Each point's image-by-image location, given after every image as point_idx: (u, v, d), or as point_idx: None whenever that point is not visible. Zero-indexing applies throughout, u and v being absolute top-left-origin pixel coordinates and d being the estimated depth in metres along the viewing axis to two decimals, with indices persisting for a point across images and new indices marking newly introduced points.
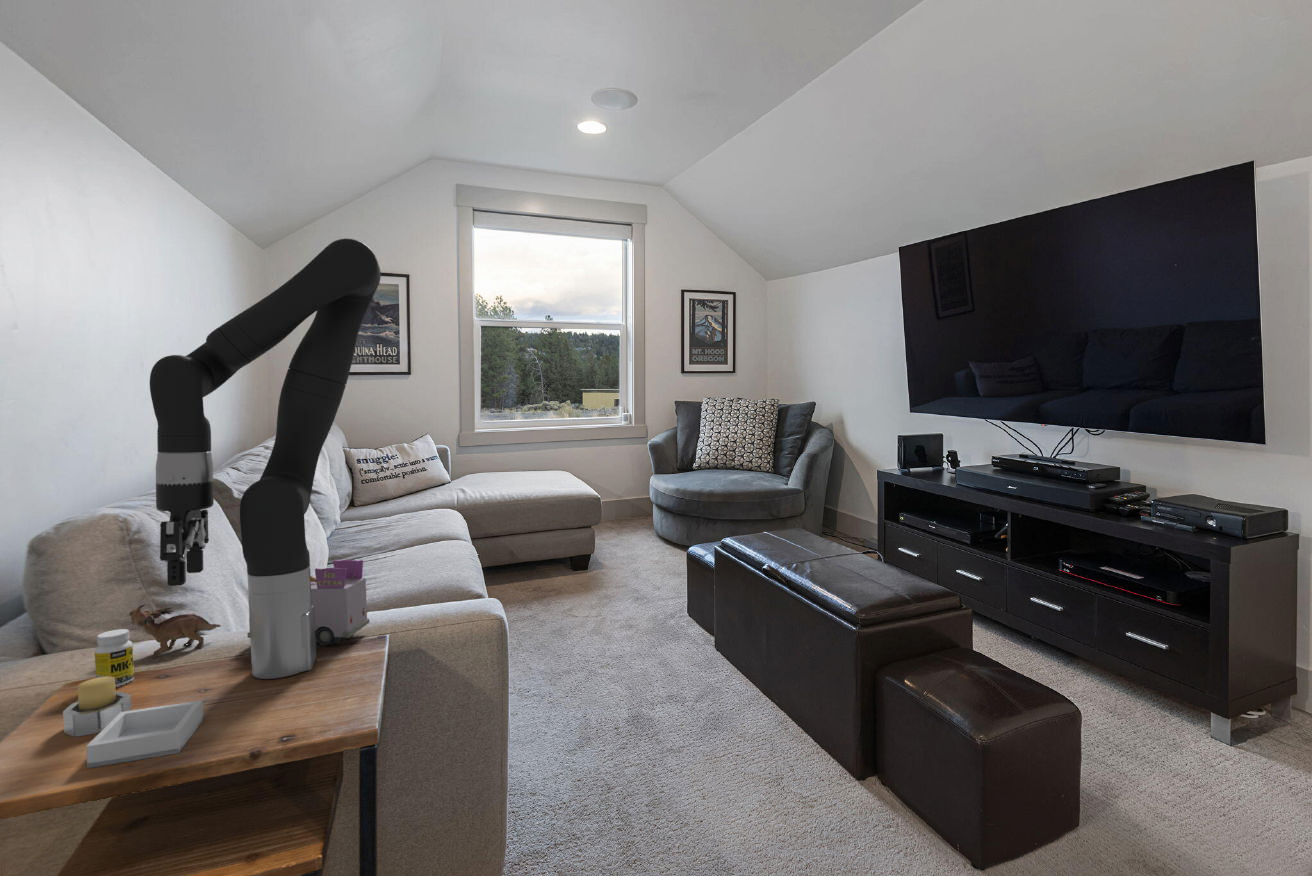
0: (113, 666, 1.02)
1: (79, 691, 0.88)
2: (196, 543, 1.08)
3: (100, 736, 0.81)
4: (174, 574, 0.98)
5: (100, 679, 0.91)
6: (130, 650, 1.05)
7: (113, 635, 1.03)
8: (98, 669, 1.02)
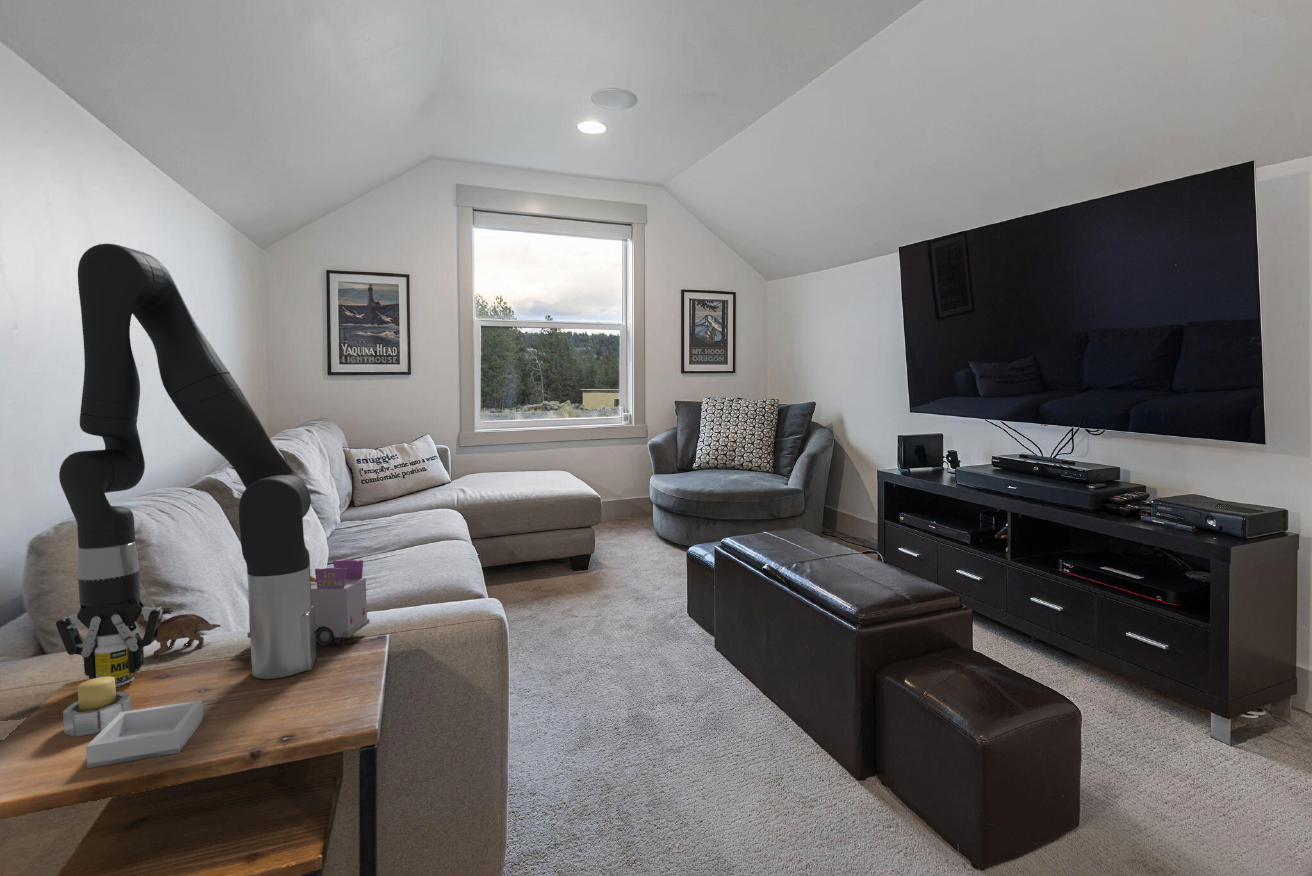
0: (113, 666, 1.02)
1: (79, 691, 0.88)
2: None
3: (100, 736, 0.81)
4: (142, 659, 1.05)
5: (100, 679, 0.91)
6: (130, 650, 1.05)
7: (113, 635, 1.03)
8: (98, 669, 1.02)
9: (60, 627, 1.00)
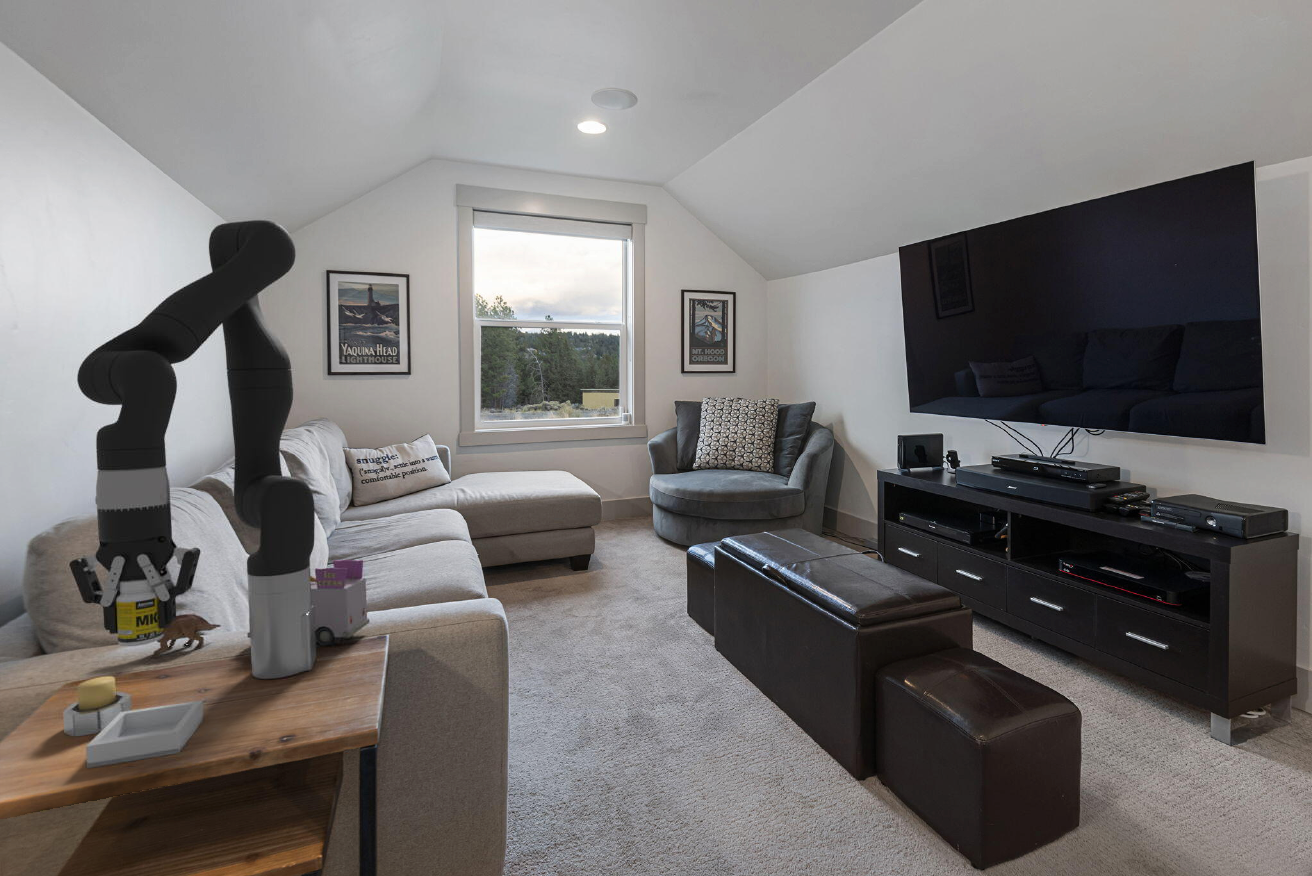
0: (139, 618, 0.82)
1: (79, 691, 0.88)
2: None
3: (100, 736, 0.81)
4: (174, 611, 0.86)
5: (100, 679, 0.91)
6: (159, 600, 0.85)
7: (139, 580, 0.83)
8: (120, 622, 0.82)
9: (75, 569, 0.81)
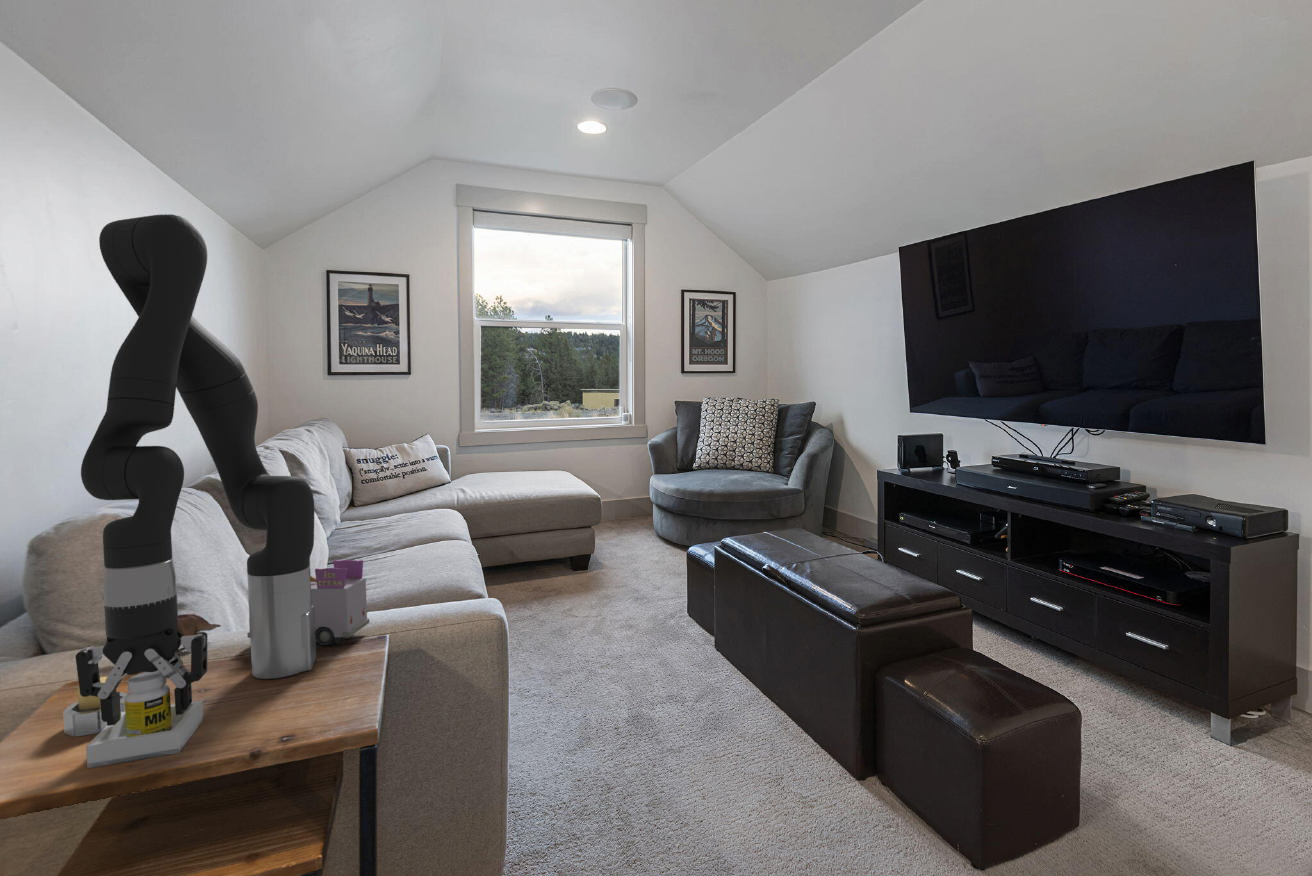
0: (147, 718, 0.83)
1: (79, 691, 0.88)
2: None
3: (100, 736, 0.81)
4: (190, 697, 0.87)
5: (100, 679, 0.91)
6: (167, 697, 0.85)
7: (147, 679, 0.84)
8: (129, 722, 0.83)
9: (80, 660, 0.81)
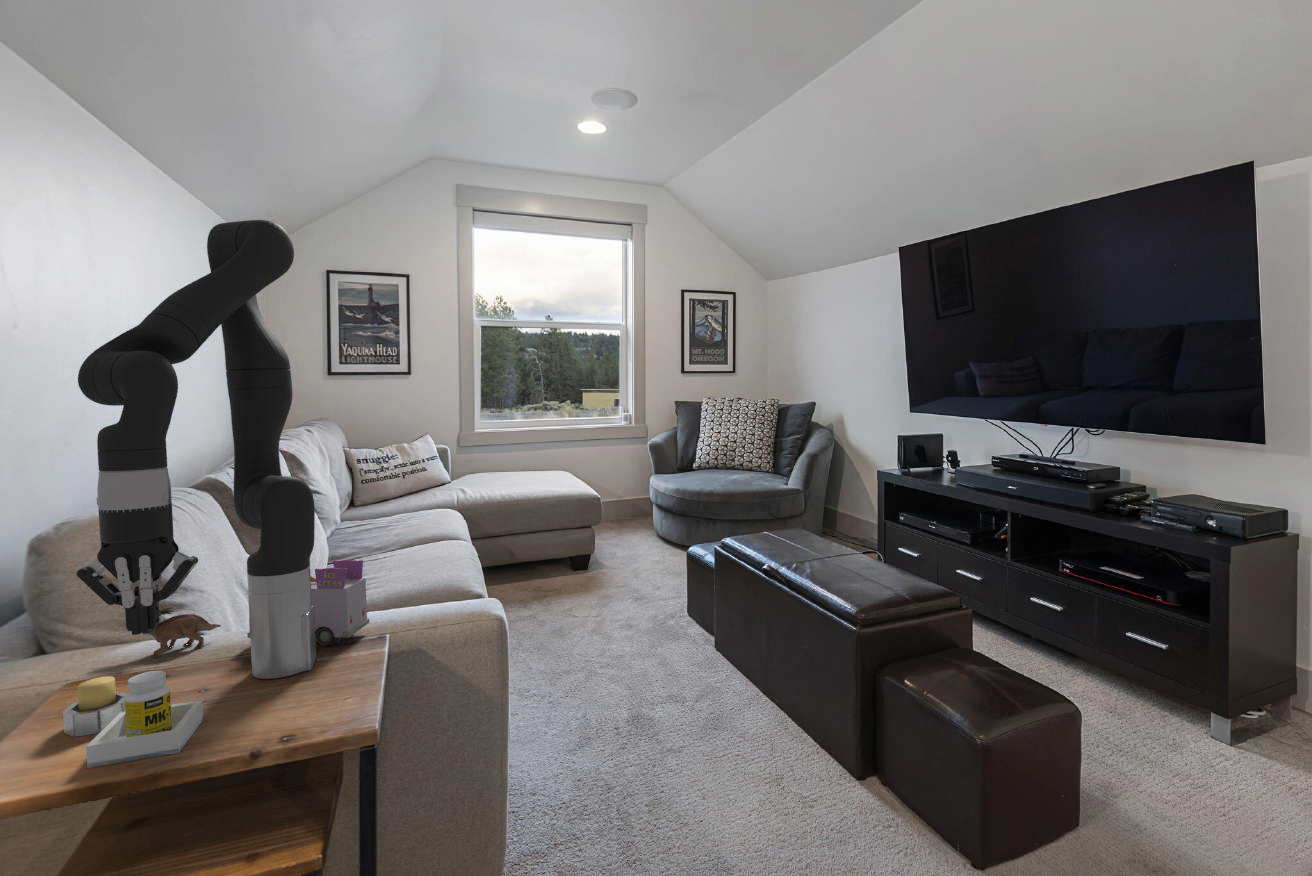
0: (147, 718, 0.83)
1: (79, 691, 0.88)
2: (135, 596, 0.84)
3: (100, 736, 0.81)
4: (157, 616, 0.85)
5: (100, 679, 0.91)
6: (167, 697, 0.85)
7: (147, 679, 0.84)
8: (129, 722, 0.83)
9: (84, 577, 0.81)
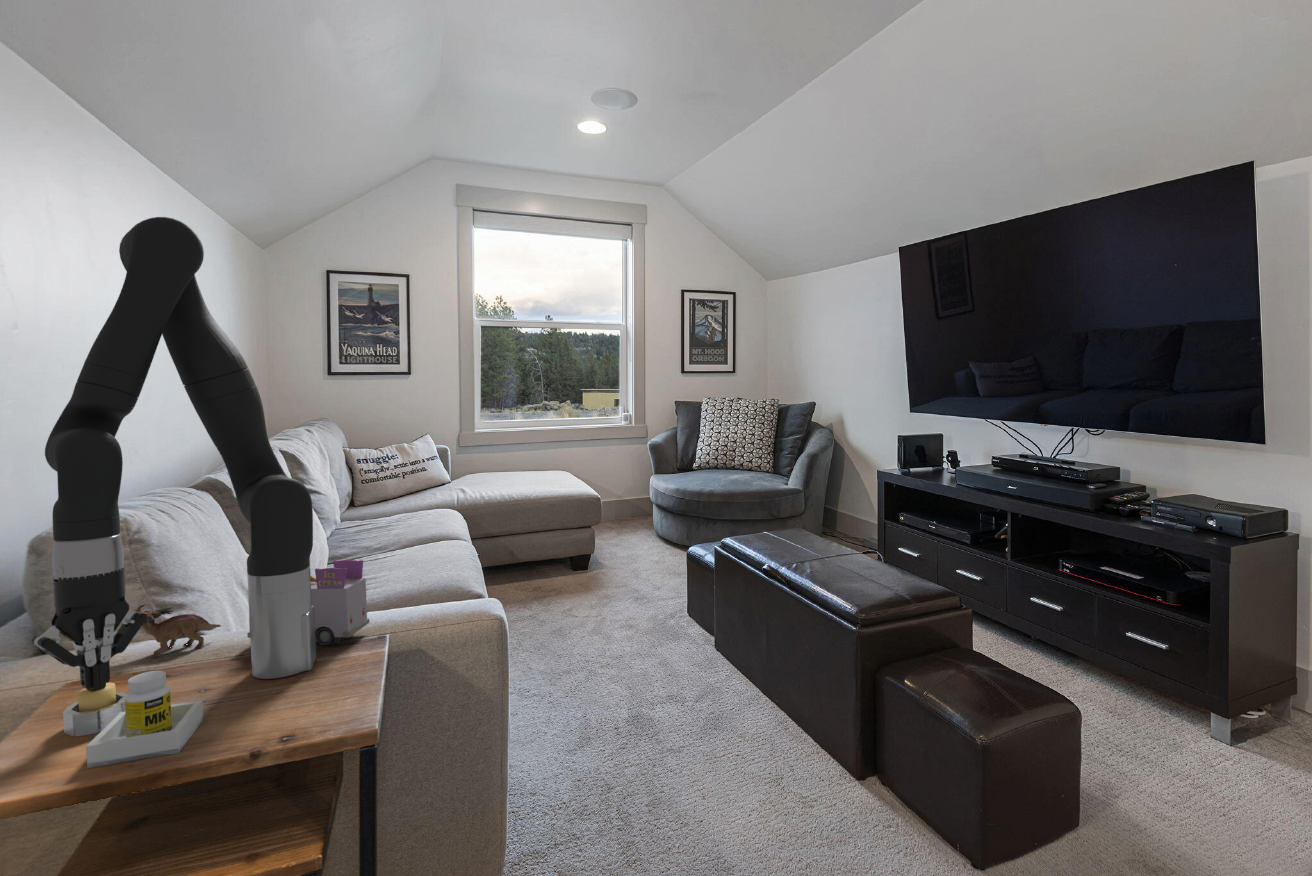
0: (147, 718, 0.83)
1: (79, 697, 0.89)
2: None
3: (100, 736, 0.81)
4: None
5: None
6: (167, 697, 0.85)
7: (147, 679, 0.84)
8: (129, 722, 0.83)
9: (48, 646, 0.85)
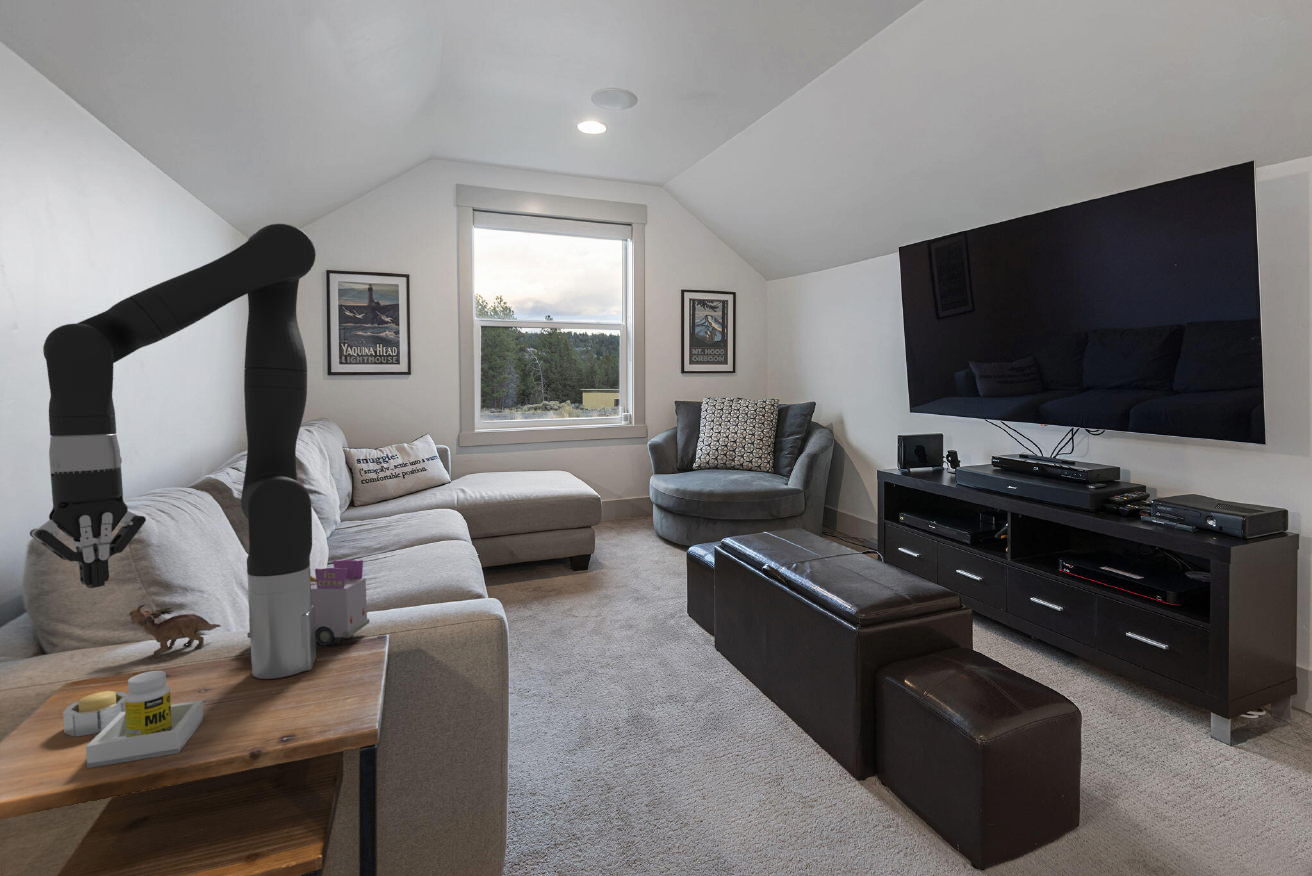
0: (147, 718, 0.83)
1: (80, 706, 0.89)
2: None
3: (100, 736, 0.81)
4: None
5: (101, 694, 0.91)
6: (167, 697, 0.85)
7: (147, 679, 0.84)
8: (129, 722, 0.83)
9: (45, 538, 0.85)
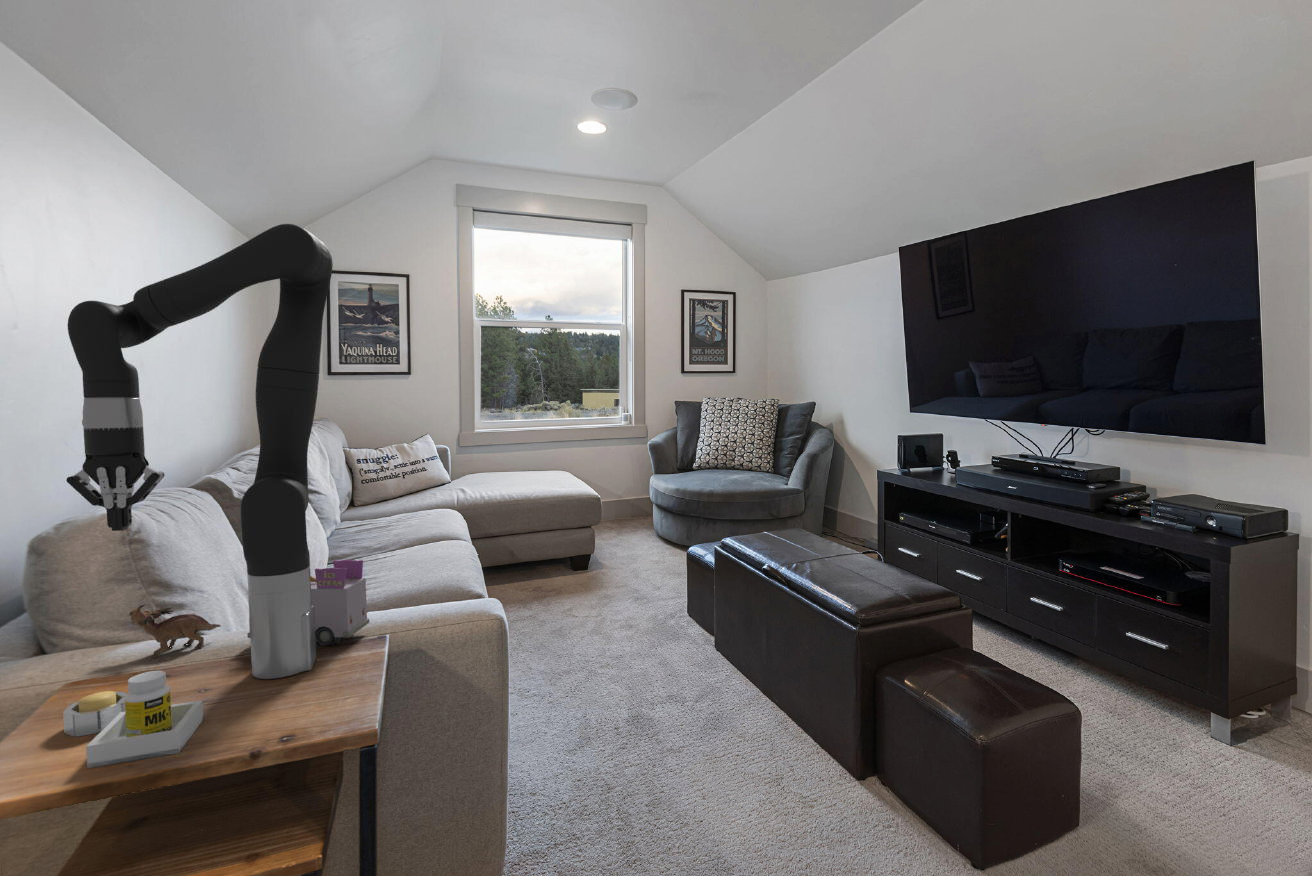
0: (147, 718, 0.83)
1: (80, 706, 0.89)
2: (115, 500, 1.05)
3: (100, 736, 0.81)
4: (130, 517, 1.06)
5: (101, 694, 0.91)
6: (167, 697, 0.85)
7: (147, 679, 0.84)
8: (129, 722, 0.83)
9: (72, 483, 1.02)
